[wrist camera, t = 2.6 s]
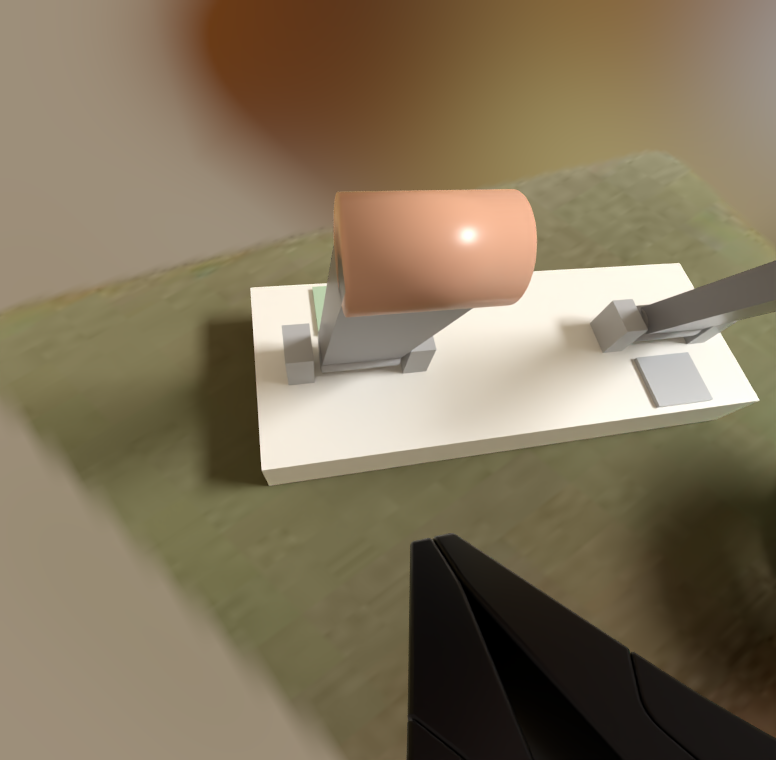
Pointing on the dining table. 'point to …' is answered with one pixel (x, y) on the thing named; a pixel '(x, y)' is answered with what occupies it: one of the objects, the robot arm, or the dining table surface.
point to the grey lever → (712, 304)
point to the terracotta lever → (419, 268)
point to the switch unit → (487, 377)
